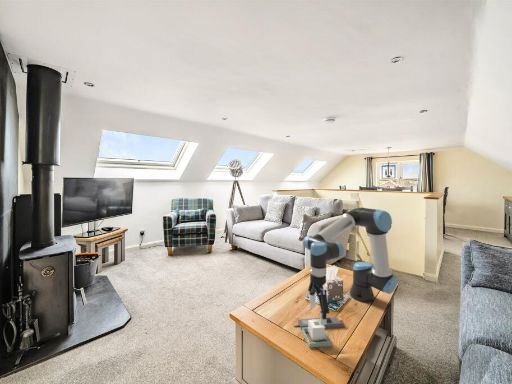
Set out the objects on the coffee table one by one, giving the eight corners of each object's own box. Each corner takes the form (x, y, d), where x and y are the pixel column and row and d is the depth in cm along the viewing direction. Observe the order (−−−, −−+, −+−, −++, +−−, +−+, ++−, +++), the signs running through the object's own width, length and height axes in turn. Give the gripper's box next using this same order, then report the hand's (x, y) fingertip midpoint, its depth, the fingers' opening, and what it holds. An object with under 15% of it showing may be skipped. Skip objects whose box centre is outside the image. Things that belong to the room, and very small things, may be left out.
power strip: (339, 321, 125) (339, 315, 125) (343, 328, 120) (344, 321, 120) (292, 325, 122) (292, 318, 122) (295, 331, 117) (295, 325, 117)
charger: (319, 334, 114) (319, 318, 114) (324, 343, 108) (325, 327, 108) (307, 335, 114) (308, 319, 113) (312, 344, 108) (312, 328, 107)
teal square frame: (321, 331, 117) (322, 326, 117) (331, 347, 106) (331, 341, 106) (301, 333, 116) (301, 327, 116) (309, 349, 105) (309, 343, 105)
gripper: (302, 264, 120) (302, 301, 122) (321, 287, 96) (320, 333, 98) (315, 263, 121) (315, 300, 123) (337, 286, 97) (336, 332, 98)
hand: (317, 315), depth 110 cm, fingers open, 13 cm apart
